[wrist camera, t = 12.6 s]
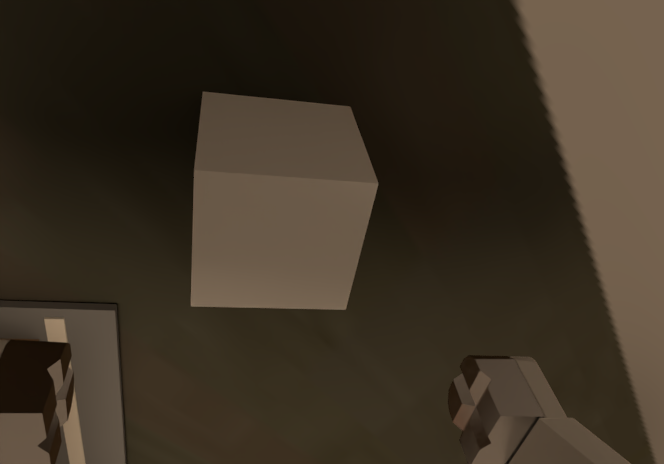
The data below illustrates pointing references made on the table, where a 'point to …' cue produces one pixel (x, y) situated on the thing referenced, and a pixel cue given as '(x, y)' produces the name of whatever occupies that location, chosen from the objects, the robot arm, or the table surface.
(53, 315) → the mat
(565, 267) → the table surface
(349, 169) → the grey cube
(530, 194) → the table surface
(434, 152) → the table surface
